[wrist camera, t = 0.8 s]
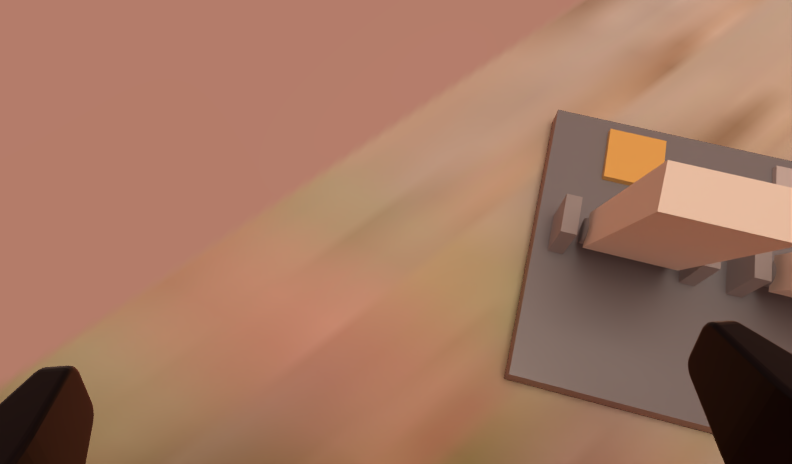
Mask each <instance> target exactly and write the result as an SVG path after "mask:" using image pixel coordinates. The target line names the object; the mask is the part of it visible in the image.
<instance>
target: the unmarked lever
mask: <svg viewBox="0 0 792 464" xmlns="http://www.w3.org/2000/svg"><path fill="white" fill-rule="evenodd" d="M764 287H768V288H769V291H768V292H771V293H775V294H780V295H784V296H788V297H792V252H790V253H785V254H780V255H775V256H774V261H772V282H770V283H768V284H766V285H764Z"/></svg>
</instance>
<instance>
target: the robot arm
mask: <svg viewBox="0 0 792 464" xmlns="http://www.w3.org/2000/svg"><path fill="white" fill-rule="evenodd" d="M688 371H689V375H690V378H691V380H692V383H693V385H694V388H695V390H696V393H697V395H698V398H699V400H700V403H701V406H702V408H703V411H704V413H705V416H706V418H707V421H708V423H709V426H710V428H711V431H712V433H713V436H714V438H715V441H716V443H717V446H718V449H719V451H720V453H721V456H722V458H723V460H724V463H725V464H792V354H791V353H790V352H788V351H786V350H785V349H783V348H781V347H780V346H778V345H776V344H775V343H773V342H771V341H770V340H768V339H766V338H764V337H763V336H761V335H759V334H758V333H756V332H754V331H753V330H751V329H749V328H748V327H746V326H744V325H743V324H741V323H739V322H737V321H732V320H726V321H711V322H708V323H707V324H705V325H704V326H703V328H702V330H701V332H700V334H699V336H698V338H697V340H696V343H695V345H694V347H693V349H692V351H691V354H690V356H689V359H688ZM93 416H94V413H93V405H92V402H91V400H90V397H89V395H88V393H87V390H86V388H85V385H84V383H83V381H82V378H81V376H80V374H79V372H78V370H77V369H76V368H75V367H73V366H57V367H45V368H42V369H40V370H38V371H36V372H35V373H34V374H33V375H32V376H31V377H29V378H28V379H27V380H26V381H25V382H24V383H23V384H22V385H21V386H19V387H18V388H17V389H16V390H15V391H14V392H13V393H12V394H11V395H9V396H8V397H7V398H6V399H5V400H4V401H3V402H2V403H1V404H0V464H85V463H86V458H87V452H88V447H89V442H90V436H91V431H92V425H93Z"/></svg>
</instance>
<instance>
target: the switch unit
mask: <svg viewBox="0 0 792 464" xmlns="http://www.w3.org/2000/svg"><path fill="white" fill-rule="evenodd" d="M667 160H671V161H675V162H680V163H684V164H688V165H693V166H697V167H702V168H706V169H711V170H715V171H720V172H724V173H728V174H733V175H737V176H742V177H746V178H751V179H755V180H760V181H764V182H769V183H773V184H777V185H782V186H786V187H791V188H792V161H788V160H784V159H779V158H774V157H770V156H765V155H761V154H756V153H752V152H747V151H743V150H738V149H734V148H729V147H725V146H720V145H716V144H711V143H707V142H702V141H697V140H693V139H688V138H684V137H679V136H675V135H670V134H666V133H661V132H657V131H652V130H648V129H643V128H639V127H634V126H630V125H625V124H620V123H616V122H611V121H607V120H602V119H598V118H593V117H589V116H584V115H580V114H575V113H571V112H566V111H562V110H558V111H557V114H556V116H555V118H554V120H553V123H552V128H551V134H550V139H549V144H548V149H547V155H546V160H545V165H544V171H543V176H542V181H541V187H540V192H539V197H538V202H537V208H536V213H535V218H534V224H533V229H532V234H531V240H530V245H529V250H528V256H527V261H526V266H525V271H524V277H523V282H522V287H521V293H520V298H519V303H518V309H517V314H516V319H515V324H514V330H513V335H512V340H511V346H510V351H509V356H508V362H507V367H506V372H505V377H504V379H508V380H512V381H515V382H519V383H523V384H527V385H530V386H534V387H538V388H542V389H546V390H549V391H553V392H557V393H561V394H564V395H568V396H572V397H576V398H580V399H583V400H587V401H591V402H595V403H598V404H602V405H606V406H610V407H613V408H617V409H621V410H625V411H629V412H632V413H636V414H640V415H644V416H647V417H651V418H655V419H659V420H663V421H666V422H670V423H674V424H678V425H681V426H685V427H689V428H693V429H697V430H700V431H704V432H708V433H712V431H711V428H710V426H709V423H708V421H707V418H706V416H705V413H704V411H703V408H702V406H701V403H700V400H699V398H698V395H697V393H696V390H695V388H694V385H693V383H692V380H691V378H690V375H689V371H688V359H689V356H690V354H691V351H692V349H693V347H694V345H695V343H696V340H697V338H698V336H699V334H700V332H701V330H702V328H703V326H704V325H705V324H707V323H708V322H711V321H726V320H732V321H737V322H739V323H741V324H743V325H744V326H746V327H748V328H749V329H751V330H753V331H754V332H756V333H758V334H759V335H761V336H763V337H764V338H766V339H768V340H770V341H771V342H773V343H775V344H776V345H778V346H780V347H781V348H783V349H785V350H786V351H788V352H790V353H791V354H792V297H788V296H784V295H780V294H775V293H771V292H768V291H769V288H768V287H764V285H766V284H768V283H770V282H772V261H774V256H775V255H780V254H785V253H790V252H792V247H790V248H785V249H781V250H776V251H771V252H766V253H761V254H756V255H751V256H746V257H742V258H737V259H732V260H727V261H722V262H717V263H712V264H707V265H703V266H698V267H693V268H688V269H683V270H678V271H677V270H673V269H669V268H665V267H660V266H656V265H652V264H648V263H644V262H640V261H636V260H631V259H627V258H623V257H619V256H615V255H611V254H607V253H602V252H598V251H594V250H590V249H586V248H583V244H582V243H579V242H578V236H579V231H580V227H581V224H582V222H583V220H584V219H585V218H589V215H590V212H592V211H593V210H595V209H596V208H598V207H599V206H601V205H602V204H604V203H605V202H607V201H608V200H610V199H611V198H613V197H614V196H615V195H617V194H618V193H620V192H621V191H623V190H624V189H626V188H627V187H629V186H630V185H632V184H633V183H635V182H636V181H638V180H639V179H640V178H642V177H643V176H645V175H646V174H648V173H649V172H651V171H652V170H654V169H655V168H657V167H658V166H660V165H661V164H663V163H664V162H665V161H667ZM712 434H713V433H712Z"/></svg>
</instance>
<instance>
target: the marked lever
mask: <svg viewBox="0 0 792 464" xmlns="http://www.w3.org/2000/svg"><path fill="white" fill-rule="evenodd" d="M578 242H579V243H582V244H583V248H586V249H590V250H594V251H598V252H602V253H607V254H611V255H615V256H619V257H623V258H627V259H631V260H636V261H640V262H644V263H648V264H652V265H656V266H660V267H665V268H669V269H673V270H677V271H678V270H683V269H688V268H693V267H698V266H703V265H707V264H712V263H717V262H722V261H727V260H732V259H737V258H742V257H746V256H751V255H756V254H761V253H766V252H771V251H776V250H781V249H785V248H790V247H792V188H791V187H786V186H782V185H777V184H773V183H769V182H764V181H760V180H755V179H751V178H746V177H742V176H737V175H733V174H728V173H724V172H720V171H715V170H711V169H706V168H702V167H697V166H693V165H688V164H684V163H680V162H675V161H671V160H667V161H665V162H664V163H663V164H661V165H660V166H658V167H657V168H655V169H654V170H652V171H651V172H649V173H648V174H646V175H645V176H643V177H642V178H640V179H639V180H638V181H636V182H635V183H633V184H632V185H630V186H629V187H627V188H626V189H624V190H623V191H621V192H620V193H618V194H617V195H615V196H614V197H613V198H611V199H610V200H608V201H607V202H605V203H604V204H602V205H601V206H599V207H598V208H596V209H595V210H593V211H592V212H590V215H589V218H585V219H584V220H583V222H582V224H581V227H580V231H579V236H578Z"/></svg>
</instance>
